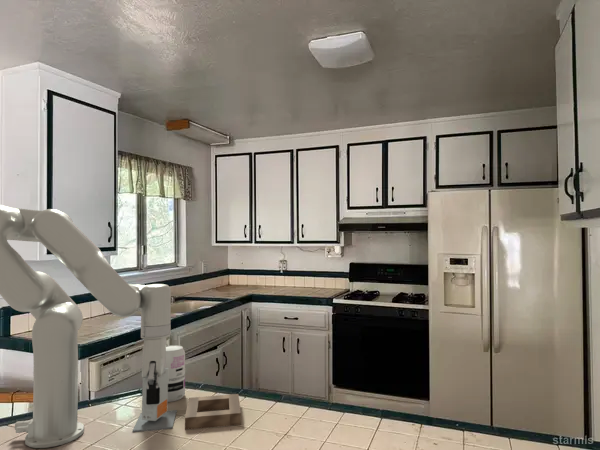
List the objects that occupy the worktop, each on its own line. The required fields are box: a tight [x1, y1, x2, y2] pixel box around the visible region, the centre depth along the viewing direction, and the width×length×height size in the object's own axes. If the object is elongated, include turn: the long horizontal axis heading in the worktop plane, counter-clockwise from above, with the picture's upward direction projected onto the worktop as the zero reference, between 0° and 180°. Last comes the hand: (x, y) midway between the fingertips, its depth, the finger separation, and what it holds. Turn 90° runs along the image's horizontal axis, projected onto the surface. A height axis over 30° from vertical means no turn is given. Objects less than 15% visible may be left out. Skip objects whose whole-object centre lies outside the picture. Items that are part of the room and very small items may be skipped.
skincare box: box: [141, 368, 168, 421], centre depth 111 cm, size 6×4×12 cm
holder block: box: [184, 393, 242, 431], centre depth 114 cm, size 14×14×3 cm
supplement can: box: [165, 344, 186, 403], centre depth 129 cm, size 8×8×15 cm
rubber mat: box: [132, 409, 178, 433], centre depth 111 cm, size 10×11×1 cm
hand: (155, 397), depth 111 cm, fingers closed on skincare box, 7 cm apart
